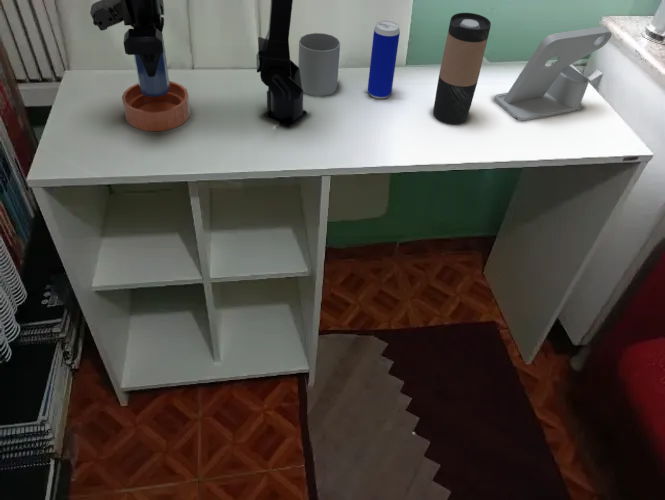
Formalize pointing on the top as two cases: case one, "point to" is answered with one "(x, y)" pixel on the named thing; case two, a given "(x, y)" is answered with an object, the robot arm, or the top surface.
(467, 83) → the travel mug
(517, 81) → the phone holder
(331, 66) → the cup
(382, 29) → the beverage can
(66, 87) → the top surface
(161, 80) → the tumbler
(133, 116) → the bowl
